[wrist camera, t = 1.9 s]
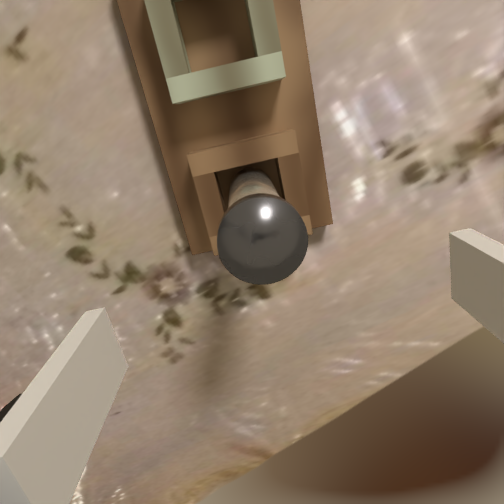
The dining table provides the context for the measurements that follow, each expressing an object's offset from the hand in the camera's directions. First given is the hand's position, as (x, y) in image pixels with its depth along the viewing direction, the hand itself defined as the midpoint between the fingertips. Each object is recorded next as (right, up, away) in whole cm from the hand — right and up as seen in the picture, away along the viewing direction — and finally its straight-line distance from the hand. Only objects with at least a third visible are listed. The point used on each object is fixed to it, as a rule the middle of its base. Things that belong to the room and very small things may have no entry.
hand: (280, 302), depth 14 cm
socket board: (-3, +15, +20) cm, 25 cm away
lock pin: (-1, +8, +21) cm, 22 cm away
